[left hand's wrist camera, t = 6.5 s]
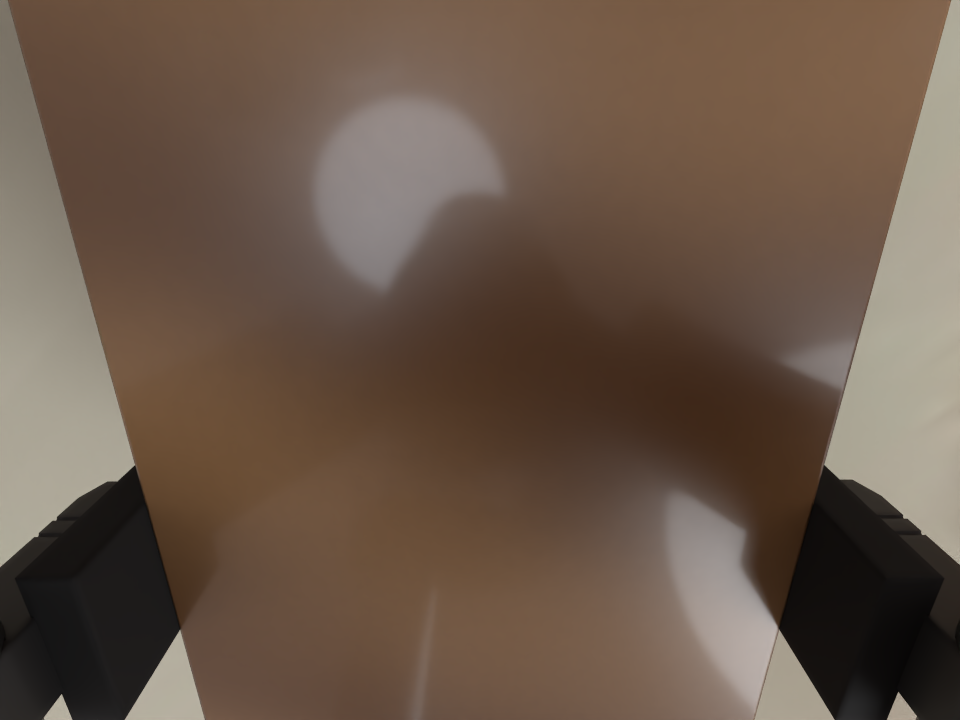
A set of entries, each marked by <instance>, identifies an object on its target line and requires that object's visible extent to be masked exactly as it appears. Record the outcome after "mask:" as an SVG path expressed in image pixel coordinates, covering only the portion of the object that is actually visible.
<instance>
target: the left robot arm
mask: <svg viewBox="0 0 960 720" xmlns="http://www.w3.org/2000/svg"><path fill="white" fill-rule="evenodd" d="M179 630H180V627H179V623H178V619H177V616H176V612H175V608H174V605H173V601H172V597H171V594H170V590H169V586H168V583H167V579H166V576H165V572H164V568H163V565H162V561H161V557H160V554H159V550H158V546H157V543H156V539H155V535H154V532H153V528H152V524H151V521H150V517H149V513H148V510H147V506H146V503H145V499H144V495H143V492H142V488H141V484H140V481H139V477H138V473H137V470H136V466H134V467H133V468H132V469H130V470H129V471H128V472H127V473H126V474H125V475H124V476H123V477H122V478H121V479H120V480H119V481H118V482H106V483H104V484H102V485H101V486H99V487H97V488H95V489H93V490H92V491H90V492H88V493H86V494H85V495H83V496H81V497H79V498H78V499H77V500H76V501H74V502H73V503H72V504H71V505H70V506H69V507H68V508H67V509H65V510H64V511H63V512H62V513H61V514H60V515H59V516H58V517H57V520H56V521H52V522H51V523H50V524H49V525H47V526H46V527H45V528H44V529H43V530H42V531H41V532H40V533H39V536H38V537H34V538H33V539H32V540H31V541H29V542H28V543H27V544H26V545H25V546H24V547H23V548H22V549H20V550H19V551H18V552H17V553H16V554H15V555H14V556H13V557H11V558H10V559H9V560H8V561H7V562H6V563H5V564H4V565H2V566H1V567H0V720H44V716H45V715H46V714H47V712H48V711H49V710H50V708H51V707H52V706H53V704H54V703H55V702H56V701H57V699H58V698H59V697H60V695H61V694H62V695H63V698H64V700H65V703H66V705H67V707H68V710H69V712H70V715H71V717H72V720H125V718H126V717H127V715H128V713H129V712H130V710H131V709H132V707H133V705H134V704H135V702H136V700H137V699H138V697H139V695H140V694H141V692H142V691H143V689H144V687H145V686H146V684H147V682H148V681H149V679H150V678H151V676H152V674H153V673H154V671H155V669H156V668H157V666H158V665H159V663H160V661H161V660H162V658H163V656H164V655H165V653H166V651H167V650H168V648H169V647H170V645H171V643H172V642H173V640H174V638H175V637H176V635H177V634H178V632H179ZM779 630H780V631H781V633H782V635H783V636H784V638H785V639H786V641H787V643H788V644H789V646H790V648H791V649H792V651H793V652H794V654H795V656H796V657H797V659H798V661H799V662H800V664H801V665H802V667H803V669H804V670H805V672H806V674H807V675H808V677H809V679H810V680H811V682H812V683H813V685H814V687H815V688H816V690H817V692H818V693H819V695H820V696H821V698H822V700H823V701H824V703H825V705H826V706H827V708H828V709H829V711H830V713H831V714H832V716H833V718H834V719H835V720H887V718H888V715H889V713H890V710H891V708H892V705H893V703H894V701H895V698H896V696H897V693H898V692H899V693H900V694H901V696H902V697H903V698H904V700H905V701H906V702H907V704H908V705H909V706H910V707H911V709H912V710H913V711H914V713H915V714H916V715H917V718H916V720H960V565H959V564H958V563H957V562H956V561H955V560H953V559H952V558H951V557H950V556H949V555H948V554H947V553H945V552H944V551H943V550H942V549H941V548H940V547H939V546H938V545H936V544H935V543H934V542H933V541H932V540H931V539H930V538H928V537H927V536H926V535H922V534H921V530H919V529H918V528H917V527H916V526H915V525H914V524H913V523H911V522H910V521H909V520H908V519H904V518H903V515H902V514H901V513H900V512H899V511H898V510H897V509H896V508H894V507H893V506H892V505H891V504H890V503H889V502H888V501H887V500H885V499H884V498H883V497H882V496H881V495H879V494H877V493H875V492H873V491H872V490H870V489H868V488H866V487H864V486H863V485H861V484H859V483H857V482H855V481H854V480H839V479H838V478H837V477H836V476H835V475H834V474H833V473H832V472H831V471H830V470H829V469H828V468H827V467H826V466H825V465H824V467H823V470H822V474H821V478H820V481H819V485H818V489H817V492H816V496H815V500H814V503H813V507H812V511H811V514H810V518H809V522H808V525H807V529H806V533H805V536H804V540H803V543H802V547H801V551H800V554H799V558H798V562H797V565H796V569H795V573H794V576H793V580H792V584H791V587H790V591H789V595H788V598H787V602H786V606H785V609H784V613H783V617H782V620H781V624H780V628H779Z"/></svg>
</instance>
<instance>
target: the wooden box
mask: <svg viewBox="0 0 960 720" xmlns="http://www.w3.org/2000/svg"><path fill="white" fill-rule="evenodd" d="M8 3H9V6H10V10H11V14H12V17H13V21H14V25H15V28H16V32H17V36H18V39H19V43H20V46H21V50H22V54H23V57H24V61H25V65H26V68H27V72H28V76H29V79H30V83H31V87H32V90H33V94H34V98H35V101H36V105H37V108H38V112H39V116H40V119H41V123H42V127H43V130H44V134H45V138H46V141H47V145H48V149H49V152H50V156H51V160H52V163H53V167H54V171H55V174H56V178H57V181H58V185H59V189H60V192H61V196H62V200H63V203H64V207H65V211H66V214H67V218H68V222H69V225H70V229H71V233H72V236H73V240H74V243H75V247H76V251H77V254H78V258H79V262H80V265H81V269H82V273H83V276H84V280H85V284H86V287H87V291H88V295H89V298H90V302H91V306H92V309H93V313H94V316H95V320H96V324H97V327H98V331H99V335H100V338H101V342H102V346H103V349H104V353H105V357H106V360H107V364H108V368H109V371H110V375H111V378H112V382H113V386H114V389H115V393H116V397H117V400H118V404H119V408H120V411H121V415H122V419H123V422H124V426H125V430H126V433H127V437H128V441H129V444H130V448H131V451H132V455H133V459H134V462H135V466H136V470H137V473H138V477H139V481H140V484H141V488H142V492H143V495H144V499H145V503H146V506H147V510H148V513H149V517H150V521H151V524H152V528H153V532H154V535H155V539H156V543H157V546H158V550H159V554H160V557H161V561H162V565H163V568H164V572H165V576H166V579H167V583H168V586H169V590H170V594H171V597H172V601H173V605H174V608H175V612H176V616H177V619H178V623H179V627H180V630H181V634H182V638H183V641H184V645H185V648H186V652H187V656H188V659H189V663H190V667H191V670H192V674H193V678H194V681H195V685H196V689H197V692H198V696H199V700H200V703H201V707H202V711H203V714H204V718H205V720H754V719H755V715H756V712H757V708H758V704H759V701H760V697H761V693H762V690H763V686H764V682H765V679H766V675H767V671H768V668H769V664H770V660H771V657H772V653H773V649H774V646H775V642H776V638H777V635H778V631H779V628H780V624H781V620H782V617H783V613H784V609H785V606H786V602H787V598H788V595H789V591H790V587H791V584H792V580H793V576H794V573H795V569H796V565H797V562H798V558H799V554H800V551H801V547H802V543H803V540H804V536H805V533H806V529H807V525H808V522H809V518H810V514H811V511H812V507H813V503H814V500H815V496H816V492H817V489H818V485H819V481H820V478H821V474H822V470H823V467H824V463H825V459H826V456H827V452H828V448H829V445H830V441H831V438H832V434H833V430H834V427H835V423H836V419H837V416H838V412H839V408H840V405H841V401H842V397H843V394H844V390H845V386H846V383H847V379H848V375H849V372H850V368H851V364H852V361H853V357H854V353H855V350H856V346H857V342H858V339H859V335H860V332H861V328H862V324H863V321H864V317H865V313H866V310H867V306H868V302H869V299H870V295H871V291H872V288H873V284H874V280H875V277H876V273H877V269H878V266H879V262H880V258H881V255H882V251H883V247H884V244H885V240H886V237H887V233H888V229H889V226H890V222H891V218H892V215H893V211H894V207H895V204H896V200H897V196H898V193H899V189H900V185H901V182H902V178H903V174H904V171H905V167H906V163H907V160H908V156H909V152H910V149H911V145H912V142H913V138H914V134H915V131H916V127H917V123H918V120H919V116H920V112H921V109H922V105H923V101H924V98H925V94H926V90H927V87H928V83H929V79H930V76H931V72H932V68H933V65H934V61H935V57H936V54H937V50H938V47H939V43H940V39H941V36H942V32H943V28H944V25H945V21H946V17H947V14H948V10H949V6H950V3H951V0H8Z"/></svg>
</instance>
